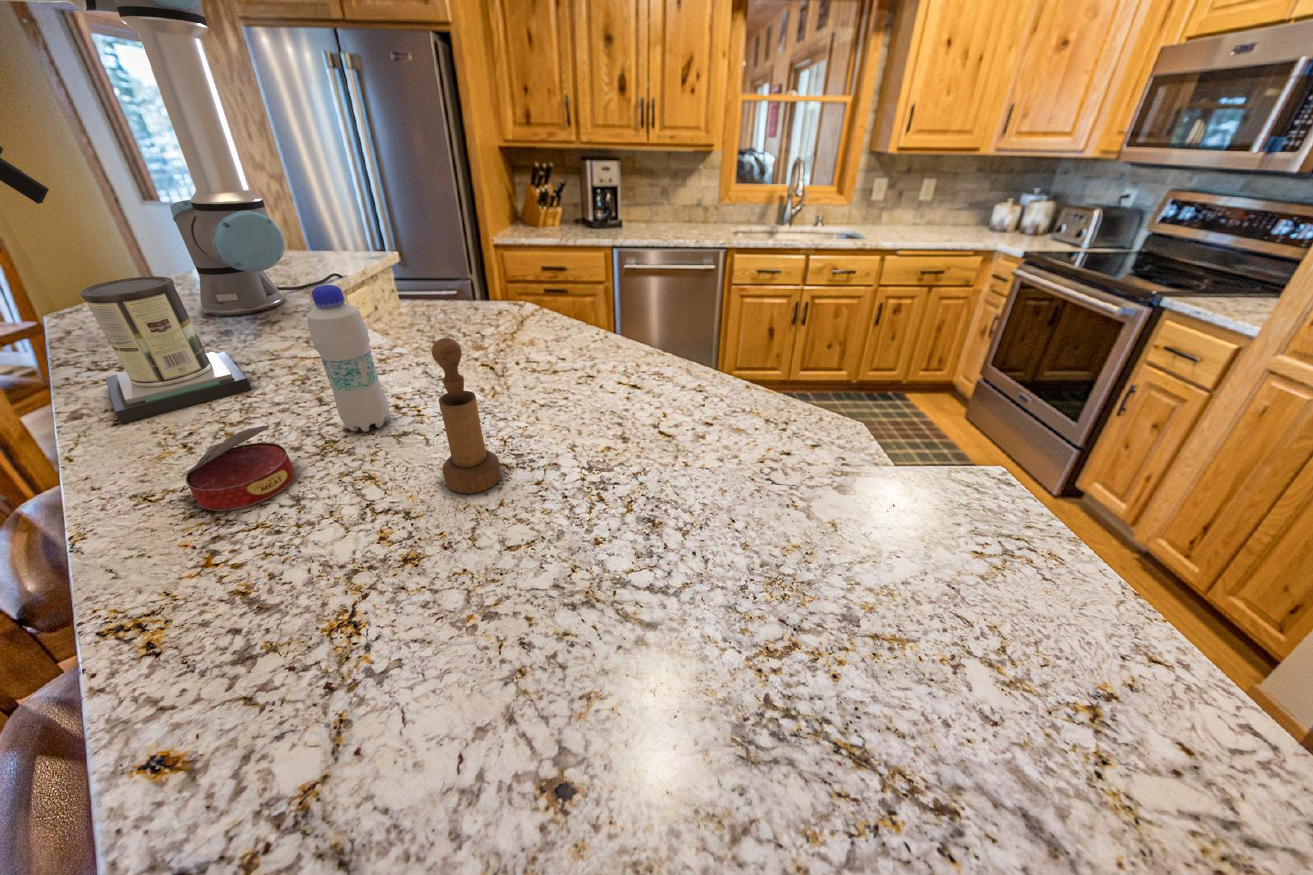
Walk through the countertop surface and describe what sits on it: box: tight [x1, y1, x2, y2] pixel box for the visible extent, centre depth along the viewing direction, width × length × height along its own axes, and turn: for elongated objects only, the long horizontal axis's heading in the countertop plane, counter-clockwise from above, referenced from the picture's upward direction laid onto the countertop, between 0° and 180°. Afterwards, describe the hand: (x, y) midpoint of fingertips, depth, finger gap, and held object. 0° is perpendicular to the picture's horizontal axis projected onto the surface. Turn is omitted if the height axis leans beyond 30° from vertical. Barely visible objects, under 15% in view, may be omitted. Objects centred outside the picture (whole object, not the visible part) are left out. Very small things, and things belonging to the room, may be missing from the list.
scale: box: [104, 351, 252, 425], centre depth 85 cm, size 16×16×3 cm
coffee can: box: [79, 275, 212, 387], centre depth 81 cm, size 10×10×14 cm
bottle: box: [306, 284, 390, 432], centre depth 71 cm, size 7×7×20 cm
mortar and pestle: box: [431, 337, 502, 494], centre depth 61 cm, size 7×6×18 cm
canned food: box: [179, 425, 296, 512], centre depth 62 cm, size 11×10×10 cm
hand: (1, 203), depth 73 cm, fingers open, 13 cm apart
